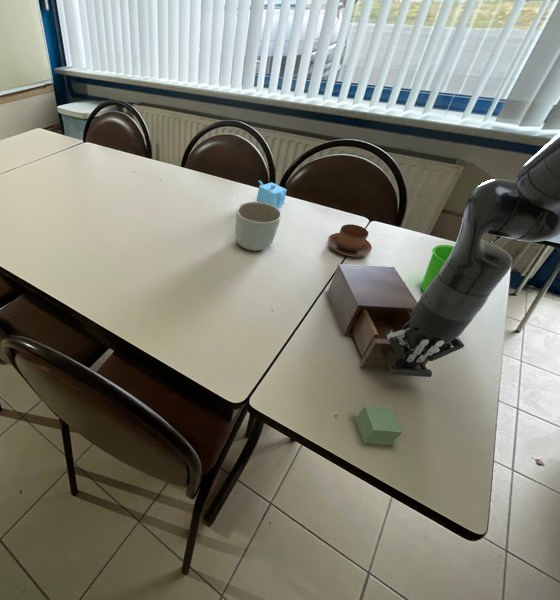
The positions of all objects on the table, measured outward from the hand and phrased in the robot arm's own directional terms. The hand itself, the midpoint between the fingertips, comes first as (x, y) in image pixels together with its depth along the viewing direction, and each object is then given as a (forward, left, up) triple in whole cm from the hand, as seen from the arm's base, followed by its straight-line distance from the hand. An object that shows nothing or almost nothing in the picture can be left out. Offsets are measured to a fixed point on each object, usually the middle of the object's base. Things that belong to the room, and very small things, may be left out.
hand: (402, 369), depth 70 cm
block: (-11, +8, -4) cm, 15 cm away
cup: (+31, -21, -4) cm, 37 cm away
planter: (+49, +23, -4) cm, 54 cm away
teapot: (+76, +15, -4) cm, 77 cm away
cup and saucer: (+49, -5, -4) cm, 49 cm away
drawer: (+7, 0, -3) cm, 7 cm away
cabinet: (+20, 0, -4) cm, 20 cm away
